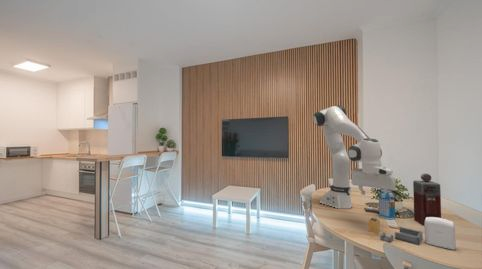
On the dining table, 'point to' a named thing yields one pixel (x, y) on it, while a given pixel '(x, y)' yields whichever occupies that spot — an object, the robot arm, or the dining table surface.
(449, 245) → the photo printer
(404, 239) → the end holder
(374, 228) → the block
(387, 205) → the beverage bottle
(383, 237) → the clip
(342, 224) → the dining table surface
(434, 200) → the dark red decanter
